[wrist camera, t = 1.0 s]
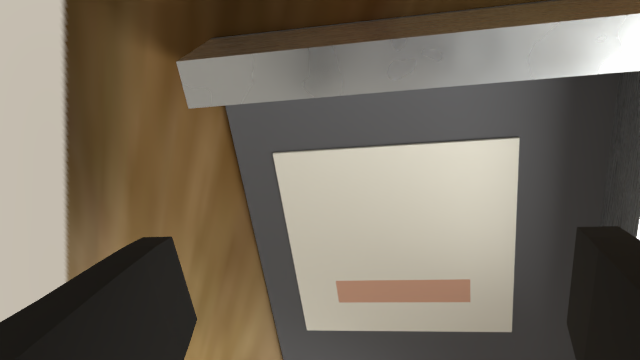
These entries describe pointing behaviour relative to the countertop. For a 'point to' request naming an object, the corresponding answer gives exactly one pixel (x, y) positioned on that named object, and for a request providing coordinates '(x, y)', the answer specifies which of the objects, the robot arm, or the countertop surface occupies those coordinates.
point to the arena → (431, 172)
